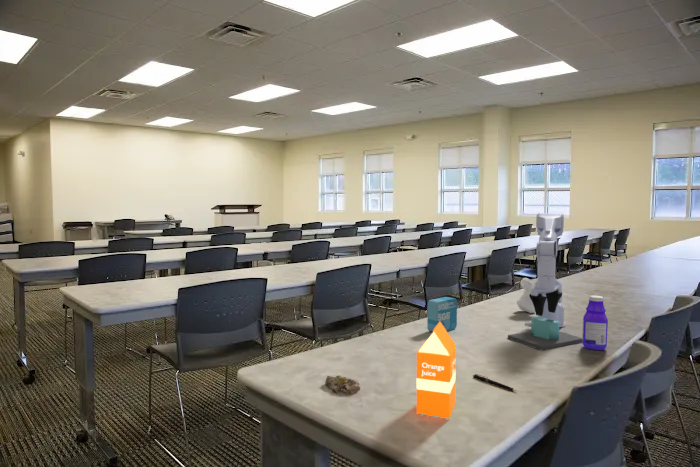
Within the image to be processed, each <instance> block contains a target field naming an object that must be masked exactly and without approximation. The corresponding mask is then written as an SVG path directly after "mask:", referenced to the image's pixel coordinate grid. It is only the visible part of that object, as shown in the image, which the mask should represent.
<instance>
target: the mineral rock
mask: <svg viewBox="0 0 700 467" xmlns="http://www.w3.org/2000/svg"><path fill="white" fill-rule="evenodd" d="M324 385H325V387H326V386H327V387H328V389H329V388H330V390H331V392H332V393H335V394H337V393H338V395H344V394H345V395H348V394H354V393H357V392H358V391H360V390H361V386H360V383H359V381H358V380H354V379H352V378H347V377H346V376H341V375H337V376H330V375H327V376H326V378H325V382H324ZM327 387H326V388H327Z"/></svg>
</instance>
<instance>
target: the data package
mask: <svg viewBox="0 0 700 467" xmlns="http://www.w3.org/2000/svg"><path fill="white" fill-rule="evenodd" d="M426 313H427V317H426V318H427V321H426V322H427V327H426V329H427V330H428V331H429V332H430V333H432V332H434V331H433V330H434V329H435V327H436V326H437V325H438V323H439V322H441V323H442V325H443V327H444V328H445V330H446V331H447V332H449V331H452V330H456V329H457V326H458V315H457V314H458V300H457V299H456V298H454V297H450V296H444V297H438V298H433V299H429V300H428V301H427V312H426Z"/></svg>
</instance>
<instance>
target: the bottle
mask: <svg viewBox="0 0 700 467" xmlns="http://www.w3.org/2000/svg"><path fill="white" fill-rule="evenodd" d="M588 298H589V299H588V304H587V306H586V308H585V310H586V312H585V313H584V315H583V317H582V335H581V336H582V337H581V338H582V342H581V343H582V345H583V347H584V348H585V349H588V350H594V351H604V350H605V349H606V348H607V345H608V324H609V322H608V317H607V315H606V311H607V309H606V308H605V305H604V297H603V296H602V295H596V294H595V295H594V294H593V295H589V297H588Z"/></svg>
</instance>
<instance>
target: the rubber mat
mask: <svg viewBox="0 0 700 467" xmlns="http://www.w3.org/2000/svg"><path fill="white" fill-rule="evenodd" d="M507 339H509V340H511V341H514V342H517V343H520V344H522V345H523V344H524V345H526V346H529V347H532V348H535V349H537V350H540V351H543V350H548V349H554V348H559V347H564V346H570V345H574V343H575V344H579V342H580V343H582V337H580V336H576V335H572V334H569V333H567V332H566V333H565V332H563V331H560V330H559V340H549V339H545V338H541V337H537V336H533V335H531V330H530V331H524V332H523V331H522V332H518V333H513V334H508V335H507Z"/></svg>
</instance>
